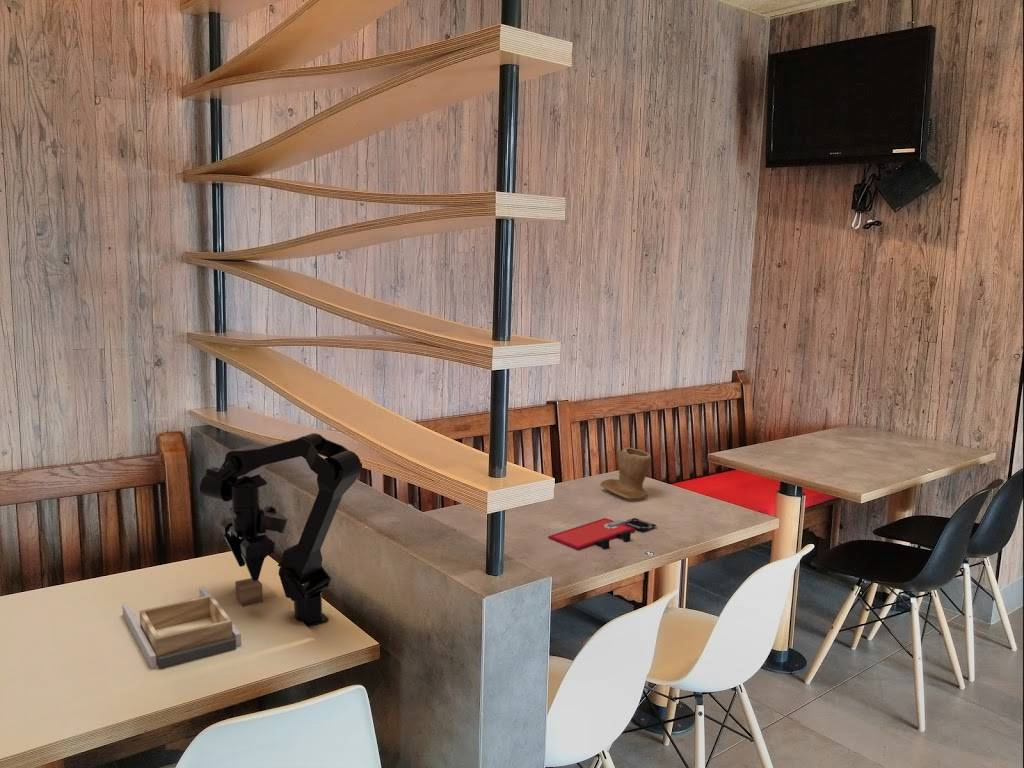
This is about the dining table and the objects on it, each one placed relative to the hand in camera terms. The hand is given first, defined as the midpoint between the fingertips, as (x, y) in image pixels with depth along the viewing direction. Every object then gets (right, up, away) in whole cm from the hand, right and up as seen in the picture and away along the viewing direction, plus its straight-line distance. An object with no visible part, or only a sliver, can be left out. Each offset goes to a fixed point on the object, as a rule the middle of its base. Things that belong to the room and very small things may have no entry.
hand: (248, 573), depth 182 cm
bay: (-10, -9, -13) cm, 19 cm away
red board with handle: (+83, -1, +49) cm, 97 cm away
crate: (-7, -9, -17) cm, 20 cm away
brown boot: (+94, +6, +84) cm, 126 cm away
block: (0, -7, +1) cm, 7 cm away
